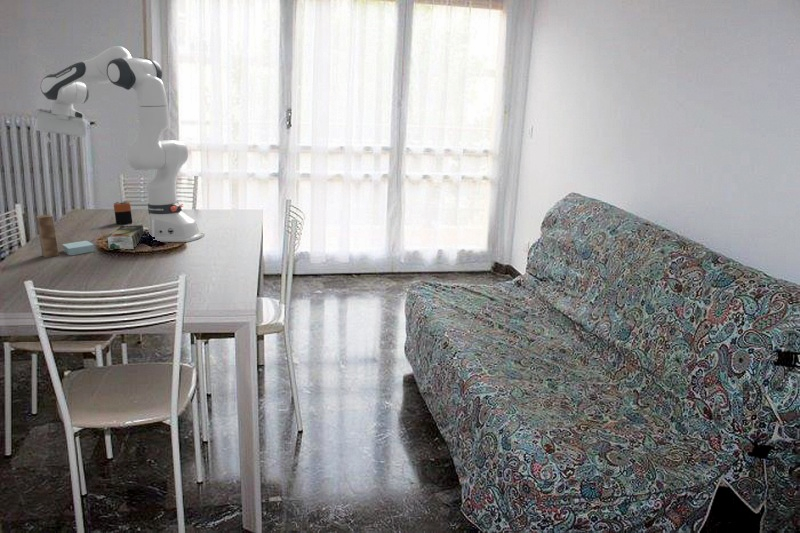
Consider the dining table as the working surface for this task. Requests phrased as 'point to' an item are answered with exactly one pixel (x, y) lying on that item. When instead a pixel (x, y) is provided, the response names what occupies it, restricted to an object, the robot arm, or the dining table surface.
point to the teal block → (78, 247)
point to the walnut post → (47, 236)
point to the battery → (122, 213)
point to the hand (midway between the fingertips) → (60, 144)
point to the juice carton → (126, 237)
